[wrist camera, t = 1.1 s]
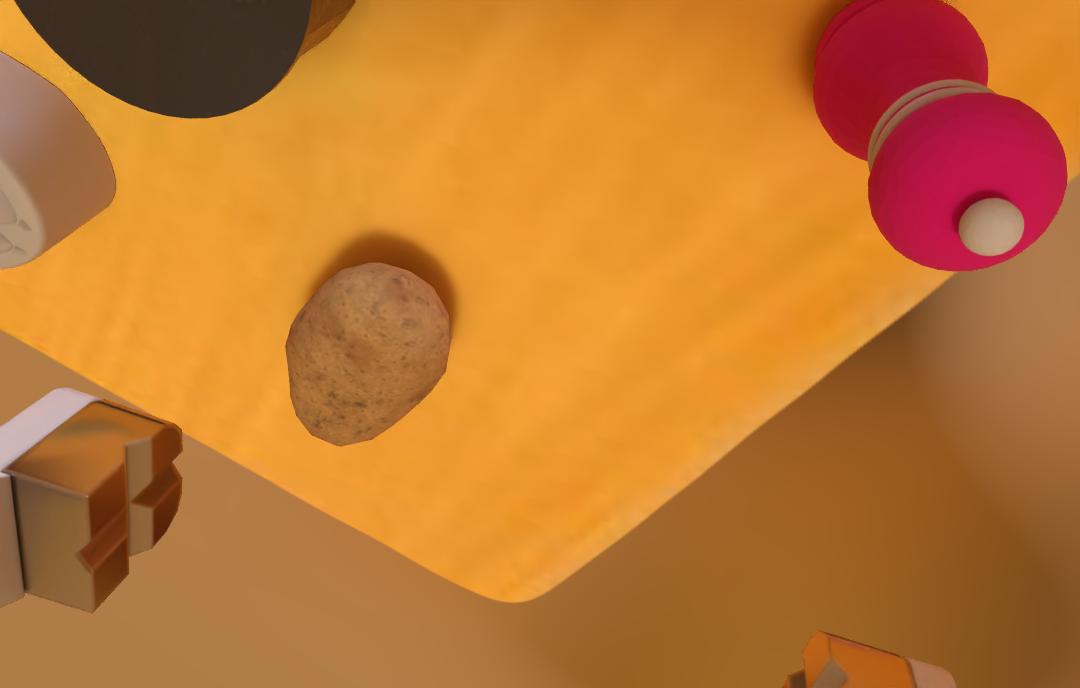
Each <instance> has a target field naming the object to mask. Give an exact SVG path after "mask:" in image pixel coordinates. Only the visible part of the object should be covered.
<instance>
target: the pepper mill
mask: <svg viewBox="0 0 1080 688" xmlns="http://www.w3.org/2000/svg"><path fill="white" fill-rule="evenodd" d="M987 81H988V59H987V55H986V51H985V47H984V44H983V42H982V40H981V39H980V37H979V35H978V33H977V32H976V30H975V28H974V27H973V26H972V24H971V23H970V22H969V21H968V19H967V18H966V17H965V16H964V15H963V14H962V13H960V12H959V11H958V10H956V9H955V8H954V7H952V6H950V5H948V4H946V3H944V2H942V1H938V0H855V1H854V2H852V3H850V4H849V5H848V6H846V7H845V8H844V9H843V10H842V11H841V12H839V13H838V14H837V15H836V16H835V17H834V18H833V20H832V21H831V22H830V23H829V25H828V26H827V28H826V29H825V31H824V33H823V35H822V36H821V39H820V41H819V44H818V47H817V50H816V56H815V78H814V85H813V94H814V103H815V108H816V113H817V115H818V117H819V119H820V121H821V123H822V125H823V127H824V128H825V130H826V131H827V133H828V134H829V135H830V137H831V138H832V140H833V141H834V142H835V143H836V144H837V145H838V146H840V147H841V148H842V149H843V150H844V151H846V152H848V153H850V154H852V155H854V156H855V157H857V158H860V159H862V160H865V161H868V165H869V171H870V176H869V180H868V198H869V203H870V208H871V213H872V217H873V219H874V220H875V222H876V224H877V226H878V228H879V230H880V232H881V233H882V234H883V236H884V237H885V238H886V240H887V241H888V242H889V243H890V244H891V245H892V246H893V248H894V249H895V250H897V251H898V252H899V253H901V254H902V255H904V256H905V257H906V258H908V259H910V260H912V261H914V262H916V263H918V264H920V265H923V266H927V267H930V268H934V269H937V270H945V271H973V270H978V269H983V268H987V267H990V266H993V265H996V264H998V263H1001V262H1004V261H1007V260H1009V259H1010V258H1012V257H1014V256H1016V255H1017V254H1019V253H1020V252H1022V251H1023V250H1025V249H1026V248H1027V247H1028V246H1030V245H1031V244H1032V243H1034V242H1035V241H1036V240H1037V239H1038V238H1039V237H1040V236H1041V235H1042V234H1043V233H1044V232H1045V231H1046V229H1047V228H1048V226H1049V225H1050V223H1051V222H1052V220H1053V219H1054V217H1055V215H1056V214H1057V212H1058V210H1059V208H1060V206H1061V204H1062V201H1063V198H1064V194H1065V190H1066V186H1067V164H1066V157H1065V153H1064V150H1063V147H1062V145H1061V143H1060V141H1059V139H1058V137H1057V135H1056V133H1055V132H1054V130H1053V129H1052V127H1051V126H1050V124H1049V123H1048V122H1047V121H1046V120H1045V119H1044V118H1043V117H1042V116H1041V115H1040V114H1039V113H1038V112H1036V111H1035V110H1034V109H1032V108H1031V107H1029V106H1028V105H1026V104H1024V103H1023V102H1021V101H1019V100H1017V99H1013V98H1009V97H1005V96H1001V95H998V94H996V93H994V92H993V91H992V90H991V89H989V88H987Z"/></svg>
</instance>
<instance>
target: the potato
mask: <svg viewBox="0 0 1080 688" xmlns="http://www.w3.org/2000/svg"><path fill="white" fill-rule="evenodd" d="M450 343H451V330H450V321H449V313H448V312H447V310H446V308H445V306H444V305H443V303H442V301H441V300H440V298H439V296H438V295H437V293H436V291H435V290H434V288H433V287H432V286H431V285H429V284H428V283H426V282H425V281H423V280H422V279H421V278H419V277H418V276H416V275H415V274H413V273H412V272H410V271H409V270H405V269H402V268H398V267H395V266H391V265H388V264H384V263H381V262H380V263H366V264H361V265H357V266H353V267H349V268H344V269H342V270H341V271H339V272H338V273H337V274H335V275H334V276H333V277H331V278H330V279H329V280H327V281H326V282H325V283H323V285H322V286H321V287H320V288H319V289H318V290H317V292H316V293H315V294H314V295H313V296H312V297H311V299H310V300H309V301H308V302H307V303H306V304H305V306H304V307H303V308H302V309H301V310H300V312H299V313H298V314H297V316H296V318H295V319H294V321H293V323H292V325H291V328H290V331H289V335H288V338H287V342H286V354H287V363H288V371H289V382H290V397H291V400H292V403H293V406H294V409H295V412H296V416H297V417H298V418H299V420H300V421H301V422H302V424H303V425H304V426H305V427H306V429H307V430H308V431H309V433H310V434H311V435H312V436H315V437H317V438H319V439H322V440H324V441H326V442H329V443H331V444H334V445H336V446H345V445H349V444H354V443H358V442H363V441H367V440H372V439H373V438H375V437H376V436H378V435H379V434H381V433H382V432H384V431H385V430H387V429H388V428H390V427H391V426H393V425H394V424H395V423H396V422H398V421H399V420H400V419H401V418H402V417H404V416H405V415H406V414H407V413H408V412H409V411H410V410H412V409H413V408H414V407H415V406H416V405H417V404H418V403H420V402H421V401H422V400H423V399H424V398H425V397H426V396H427V395H428V394H429V393H430V392H431V391H432V389H433V388H434V387H435V385H436V384H437V383H438V381H439V380H440V379H441V377H442V376H443V375H444V373H445V372H446V366H447V361H448V355H449V349H450Z"/></svg>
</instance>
